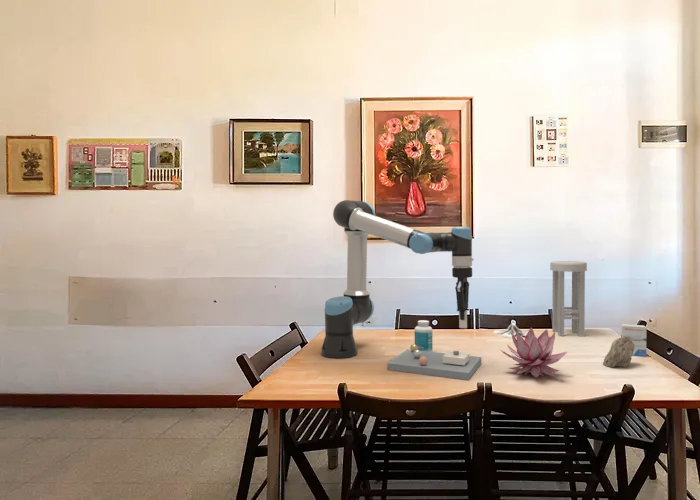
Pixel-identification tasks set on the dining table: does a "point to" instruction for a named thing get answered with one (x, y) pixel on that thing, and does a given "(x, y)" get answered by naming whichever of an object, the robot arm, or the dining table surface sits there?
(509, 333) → the cloth
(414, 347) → the brass ball
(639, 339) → the ink box
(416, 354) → the steel ball
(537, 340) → the decorative flower
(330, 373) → the dining table surface
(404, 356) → the board
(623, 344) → the rock
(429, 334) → the pill bottle
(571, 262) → the stool
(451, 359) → the cover
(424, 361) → the clay ball
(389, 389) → the dining table surface
